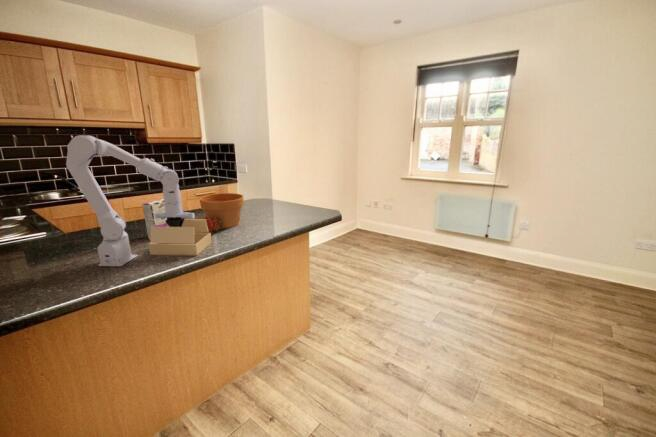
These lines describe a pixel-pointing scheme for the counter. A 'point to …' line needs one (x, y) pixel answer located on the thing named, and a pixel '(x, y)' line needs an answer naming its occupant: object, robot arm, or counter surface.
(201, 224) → the far flap
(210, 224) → the dragon fruit
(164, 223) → the candy bar box
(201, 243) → the carton
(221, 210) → the flower pot
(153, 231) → the near flap
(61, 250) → the counter surface
